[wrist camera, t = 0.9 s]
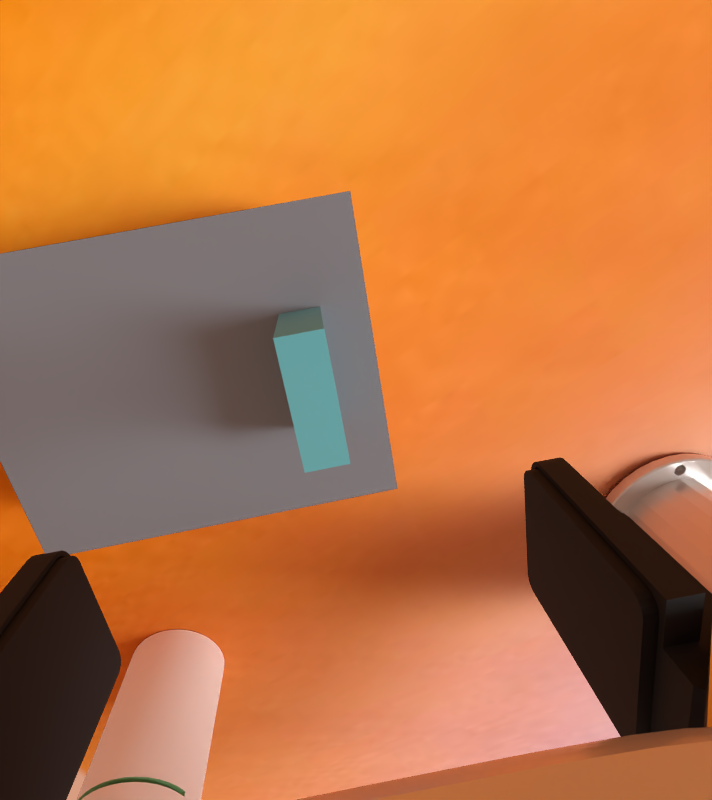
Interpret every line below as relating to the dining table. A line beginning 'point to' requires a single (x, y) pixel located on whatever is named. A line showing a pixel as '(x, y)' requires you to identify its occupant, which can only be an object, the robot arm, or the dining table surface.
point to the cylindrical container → (160, 722)
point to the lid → (190, 375)
